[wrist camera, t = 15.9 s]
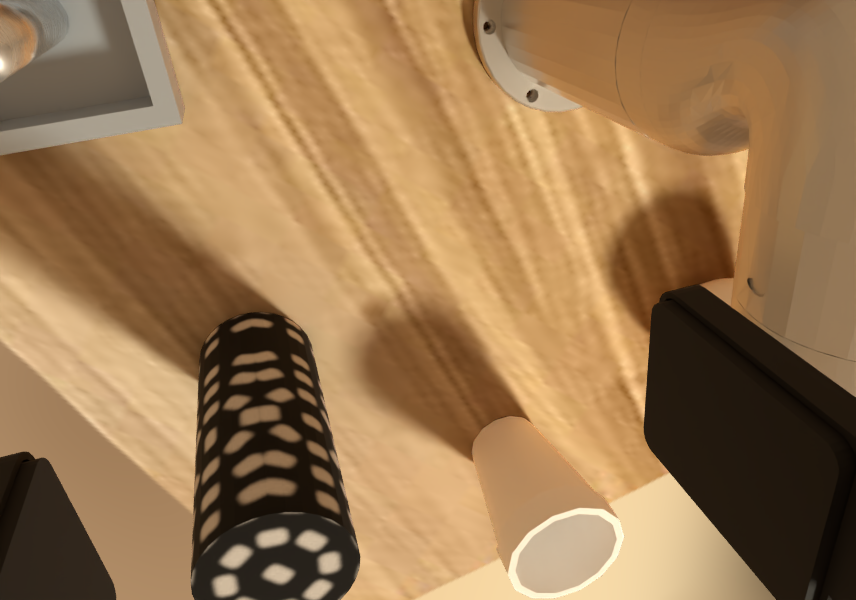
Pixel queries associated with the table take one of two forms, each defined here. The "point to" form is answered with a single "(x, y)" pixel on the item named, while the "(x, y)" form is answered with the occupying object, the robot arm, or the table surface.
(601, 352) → the table surface
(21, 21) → the steel pin
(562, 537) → the foam cup
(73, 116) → the tray
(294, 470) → the spotted tube
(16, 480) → the robot arm
